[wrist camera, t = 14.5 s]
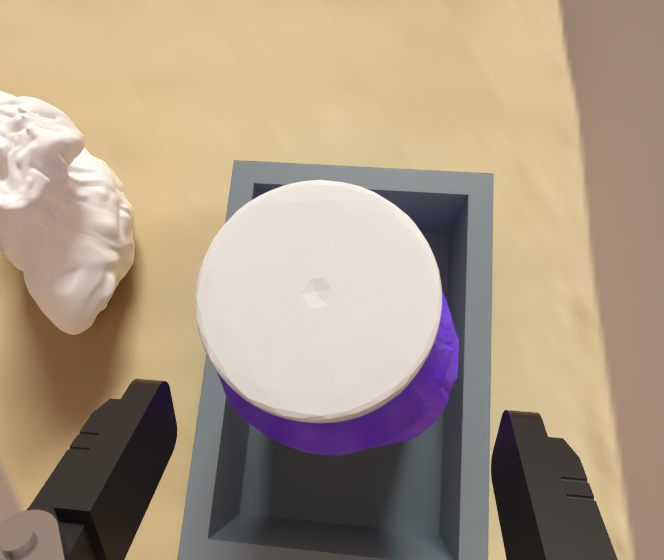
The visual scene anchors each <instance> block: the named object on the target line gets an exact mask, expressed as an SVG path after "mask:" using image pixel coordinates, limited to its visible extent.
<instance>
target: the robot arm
mask: <svg viewBox="0 0 664 560" xmlns="http://www.w3.org/2000/svg"><path fill="white" fill-rule="evenodd" d="M176 438H177V423H176V418H175V413H174V408H173V403H172V397H171V392H170V387H169V384H168V383H167V382H166V381H155V380H143V379H135V380H133V381H132V382H131V384H130V385H129V387H128V388H127V390H126V392H125V393H124V395H123V396H122V398H121V400H120V399H109V400H108V401H107V402H106V403H104V404H103V405H102V406H101V407H99V408H98V409H97V410H96V411H94V412H93V413H92V414H91V416H90V417H89V419H88V420H87V422H86V423H85V424H84V426H83V427H82V429H81V430H80V434H79V435H77V436H76V438H75V439H74V441H73V442H72V444H71V445H70V449H69V450H67V451H66V453H65V454H64V456H63V457H62V459H61V460H60V462H59V463H58V465H57V466H56V468H55V469H54V471H53V472H52V474H51V475H50V477H49V478H48V480H47V481H46V483H45V484H44V486H43V487H42V489H41V490H40V492H39V493H38V495H37V496H36V498H35V499H34V501H33V502H32V504H31V505H30V506H29V508H28V509H27V510H26V511H23V512H20V513H17V514H14V515H12V516H10V517H8V518H7V519H5V520H3V521H2V522H0V560H124V559H125V557H126V555H127V552H128V550H129V548H130V546H131V544H132V541H133V539H134V537H135V535H136V532H137V530H138V528H139V526H140V524H141V521H142V519H143V517H144V515H145V512H146V510H147V508H148V506H149V504H150V501H151V499H152V497H153V495H154V493H155V490H156V488H157V486H158V484H159V481H160V479H161V477H162V475H163V473H164V470H165V468H166V466H167V464H168V461H169V459H170V457H171V455H172V453H173V450H174V447H175V443H176ZM491 475H492V484H493V489H494V494H495V500H496V505H497V510H498V516H499V521H500V526H501V532H502V537H503V542H504V547H505V553H506V558H507V560H617V557H616V554H615V552H614V549H613V546H612V544H611V541H610V538H609V536H608V533H607V530H606V528H605V525H604V522H603V520H602V517H601V514H600V512H599V509H598V506H597V503H596V501H594V495H593V493H592V490H591V487H590V485H589V483H587V477H586V474H585V471H584V469H583V466H582V463H581V461H580V458H579V457H578V456H577V454H576V453H575V452H574V451H573V450H572V448H571V447H570V446H569V445H568V444H567V443H566V441H565V440H564V439H563V438H551V437H548V436H547V433H546V430H545V427H544V424H543V420H542V418H541V416H540V414H539V413H533V412H520V411H508V410H505V411H504V412H503V415H502V418H501V422H500V426H499V430H498V434H497V438H496V442H495V446H494V450H493V454H492V462H491Z"/></svg>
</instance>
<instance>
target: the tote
mask: <svg viewBox="0 0 664 560" xmlns="http://www.w3.org/2000/svg"><path fill="white" fill-rule="evenodd" d="M493 179H494V174H492V173H472V172H453V171H433V170H414V169H394V168H374V167H355V166H335V165H316V164H296V163H277V162H257V161H238V160H234V164H233V171H232V178H231V185H230V192H229V199H228V206H227V213H226V220H225V223H226V222H227V221H228V220H229V219H230V218H231V217H232V216H233V215H234V214H235V213H236V211H237V210H239V209H240V208H241V207H243V206H244V205H245V204H247V203H248V202H250V201H251V200H253V199H255V198H257V197H258V196H260V195H262V194H264V193H266V192H268V191H271V190H273V189H276V188H279V187H281V186H284V185H288V184H292V183H297V182H303V181H311V180H327V181H336V182H344V183H348V184H353V185H357V186H360V187H363V188H365V189H368V190H370V191H373V192H375V193H377V194H378V195H380V196H381V197H383V198H385V199H386V200H388V201H390V202H391V203H393V204H394V205H396V206H397V207H398V208H399V209H400V210H402V211H403V212H404V213H405V214H407V215H408V216H409V217H410V219H411V220H412V221H413V222H414V223H415V224H416V226H417V227H418V229H419V230H420V231H421V233H422V234H423V236H424V237H425V239H426V240H427V242H428V244H429V246H430V248H431V250H432V253H433V255H434V257H435V260H436V263H437V266H438V269H439V273H440V279H441V286H442V291H443V293H444V296H445V298H446V301H447V304H448V307H449V310H450V312H451V317H452V321H453V325H454V328H455V333H456V335H457V337H458V342H459V356H458V372H457V379H456V381H455V382H454V384H453V386H452V388H451V391H450V395H449V402H448V403H447V406H446V407H445V409H444V411H443V413H442V414H441V415H440V417H439V418H438V419H437V420H436V422H435V423H434V424H433V425H432V426H431V427H430V428H428V429H427V430H426V431H424V432H423V433H422V434H420V435H419V436H417V437H414V438H412V439H409V440H407V441H403V442H398V443H394V444H390V445H385V446H378V447H372V448H369V449H365V450H362V451H359V452H354V453H349V454H344V455H340V456H337V455H319V454H313V453H308V452H303V451H299V450H297V449H295V448H291V447H288V446H286V445H284V444H282V443H279V442H277V441H276V440H274V439H272V438H270V437H268V436H266V435H265V434H263V433H262V432H260V431H259V430H258V429H256V428H255V427H253V426H252V425H251V424H249V423H248V422H246V421H245V420H244V419H243V418H242V417H241V416H240V415H239V414H238V412H237V411H236V410H235V409H234V408H233V406H232V405H231V403H230V402H229V400H228V398H227V396H226V394H225V392H224V389H223V386H222V383H221V381H220V378H219V376H218V373H217V370H216V369H215V368H214V366H213V365H212V363H211V361H210V359H209V357H208V356H207V355H206V362H205V369H204V376H203V383H202V390H201V397H200V404H199V411H198V418H197V425H196V432H195V439H194V446H193V453H192V461H191V468H190V475H189V482H188V489H187V496H186V503H185V510H184V517H183V524H182V531H181V538H180V545H179V552H178V559H177V560H488V520H489V452H490V383H491V315H492V247H493Z"/></svg>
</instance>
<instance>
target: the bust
mask: <svg viewBox="0 0 664 560" xmlns="http://www.w3.org/2000/svg"><path fill="white" fill-rule="evenodd" d="M84 145H85V140H84V136H83V135H82V133H81V132H80V131H79V130H78V129H77V128H76V126H75V125H74V123H73V122H72V120H71V119H70V118H69V117H68V116H67V115H66V114H65V113H63V112H62V111H60V110H59V109H57V108H56V107H54V106H52V105H50V104H48V103H46V102H44V101H42V100H39V99H37V98H33V97H15V96H13V95H11V94H8V93H5V92H2V91H0V249H1V250H2V252H3V253H4V254H5V256H6V257H7V259H8V260H9V261H10V262H11V263H12V264H13V265H14V266H15V267H16V268H17V269H18V270H20V271H23V272H24V280H25V284H26V287H27V289H28V291H29V293H30V295H31V296H32V297H33V299H34V300H35V301H36V303H37V305H38V306H39V308H40V309H41V311H42V312H43V313H44V314H45V315H46V316H47V318H48V319H49V320H50V321H51V322H52V323H53V324H54V325H55V326H56V327H57V328H59V329H60V330H61V331H63V332H65V333H68V334H71V335H77V334H80V333H82V332H84V331H85V330H87V329H89V328H90V327H91V326H92V324H93V323H94V320H95V319H96V317H97V315H98V313H99V312H100V311H102V310H104V309H105V308H106V307H107V304H108V301H109V300H110V298H111V297H112V295H113V293H114V291H115V289H116V287H117V286H118V284H119V281H120V280H121V279H122V278H123V277H124V276H125V275H126V274H127V272H128V271H129V269H130V268H131V266H132V264H133V262H134V256H135V255H134V254H135V253H134V252H135V244H134V239H133V235H134V231H135V227H134V210H133V207H132V206H131V204H130V203H129V202H128V200H127V198H126V195H125V190H124V186H123V184H122V183H121V181H120V180H119V179H118V177H117V176H116V175H115V173H114V172H113V170H112V169H110V168H109V167H108V165H107V164H106V163H105V162H104V161H102V160H100V159H98V158H96V157H93V156H92V155H90V153H89V152H88V151H87V150H86V149H85V148H84Z"/></svg>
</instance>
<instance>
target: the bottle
mask: <svg viewBox="0 0 664 560" xmlns="http://www.w3.org/2000/svg"><path fill="white" fill-rule="evenodd" d="M195 304H196V320H197V325H198V330H199V334H200V337H201V340H202V343H203V346H204V350H205V352H206V354H207V356H208V357H209V359H210V361H211V363H212V365H213V366H214V368H215V369H216V370H217V373H218V376H219V378H220V381H221V383H222V386H223V389H224V392H225V394H226V396H227V398H228V400H229V402H230V403H231V405H232V406H233V408H234V409H235V410H236V411H237V412H238V414H239V415H240V416H241V417H242V418H243V419H244V420H245V421H246V422H248V423H249V424H251V425H252V426H253V427H255V428H256V429H258V430H259V431H260V432H262V433H263V434H265V435H266V436H268V437H270V438H272V439H274V440H276V441H277V442H279V443H282V444H284V445H286V446H288V447H291V448H295V449H297V450H299V451H303V452H308V453H313V454H319V455H337V456H340V455H344V454H349V453H354V452H359V451H362V450H365V449H369V448H372V447H378V446H385V445H390V444H394V443H398V442H403V441H407V440H409V439H412V438H414V437H417V436H419V435H420V434H422V433H423V432H424V431H426V430H427V429H428V428H430V427H431V426H432V425H433V424H434V423H435V422H436V420H437V419H438V418H439V417H440V415H441V414H442V413H443V411H444V409H445V407H446V406H447V403H448V402H449V395H450V391H451V388H452V386H453V384H454V382H455V381H456V379H457V372H458V356H459V342H458V337H457V335H456V333H455V328H454V325H453V321H452V317H451V312H450V310H449V307H448V304H447V301H446V298H445V296H444V293H443V291H442V286H441V279H440V273H439V269H438V266H437V263H436V260H435V257H434V255H433V253H432V250H431V248H430V246H429V244H428V242H427V240H426V239H425V237H424V236H423V234H422V233H421V231H420V230H419V229H418V227H417V226H416V224H415V223H414V222H413V221H412V220H411V219H410V217H409V216H408V215H407V214H405V213H404V212H403V211H402V210H400V209H399V208H398V207H397V206H396V205H394V204H393V203H391V202H390V201H388V200H386V199H385V198H383V197H381V196H380V195H378V194H377V193H375V192H373V191H370V190H368V189H365V188H363V187H360V186H357V185H353V184H348V183H344V182H336V181H327V180H311V181H303V182H297V183H292V184H288V185H284V186H281V187H279V188H276V189H273V190H271V191H268V192H266V193H264V194H262V195H260V196H258V197H257V198H255V199H253V200H251V201H250V202H248V203H247V204H245V205H244V206H243V207H241V208H240V209H239V210H237V211H236V213H235V214H234V215H233V216H232V217H231V218H230V219H229V220H228V221H227V222H226V223H225V224H224V226H223V227H222V228H221V229H220V231H219V232H218V233H217V235H216V236H215V237H214V239H213V241H212V243H211V245H210V247H209V249H208V251H207V253H206V255H205V257H204V260H203V262H202V265H201V268H200V271H199V275H198V279H197V284H196V294H195Z"/></svg>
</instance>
